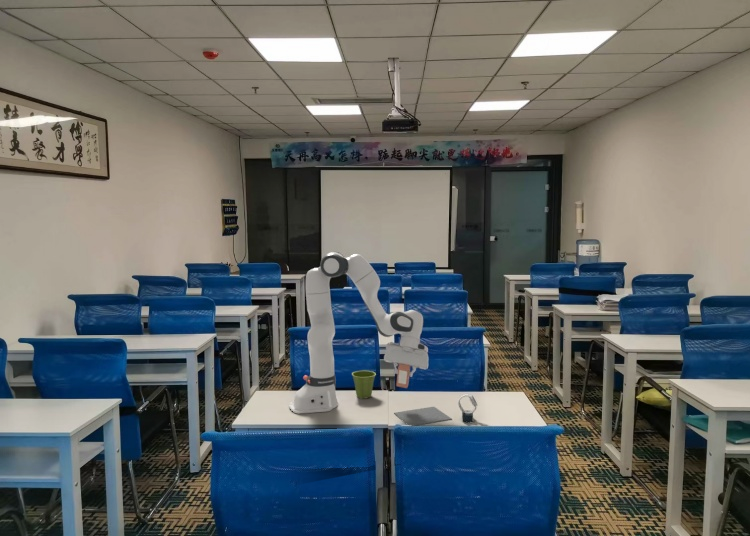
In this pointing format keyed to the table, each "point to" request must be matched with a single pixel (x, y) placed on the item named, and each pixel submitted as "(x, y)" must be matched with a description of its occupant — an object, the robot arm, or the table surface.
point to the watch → (468, 415)
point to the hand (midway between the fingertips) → (403, 374)
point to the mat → (422, 416)
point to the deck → (403, 375)
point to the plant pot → (363, 383)
